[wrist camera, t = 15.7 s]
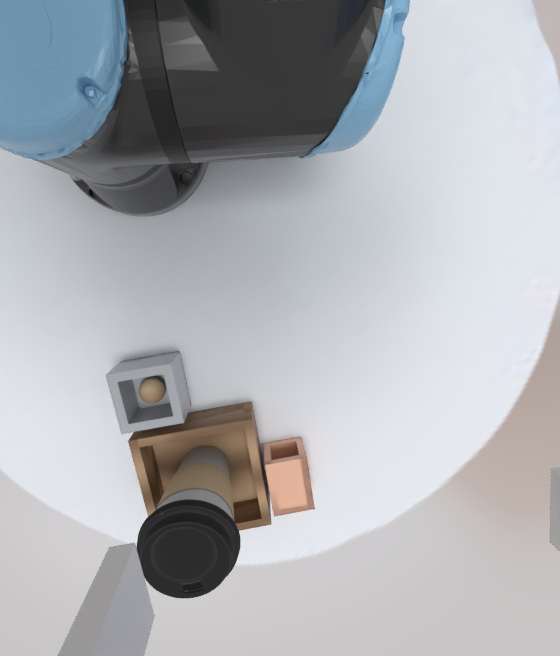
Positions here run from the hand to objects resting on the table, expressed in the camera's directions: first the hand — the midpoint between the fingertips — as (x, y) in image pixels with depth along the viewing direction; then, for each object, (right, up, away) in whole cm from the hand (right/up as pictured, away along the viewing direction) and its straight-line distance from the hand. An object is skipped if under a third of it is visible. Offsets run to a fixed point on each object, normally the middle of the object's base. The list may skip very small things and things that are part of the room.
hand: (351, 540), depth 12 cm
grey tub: (-17, 0, +34) cm, 38 cm away
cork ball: (-17, 0, +33) cm, 38 cm away
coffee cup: (-12, -11, +36) cm, 39 cm away
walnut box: (-12, -11, +37) cm, 40 cm away
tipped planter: (-1, -11, +38) cm, 39 cm away
